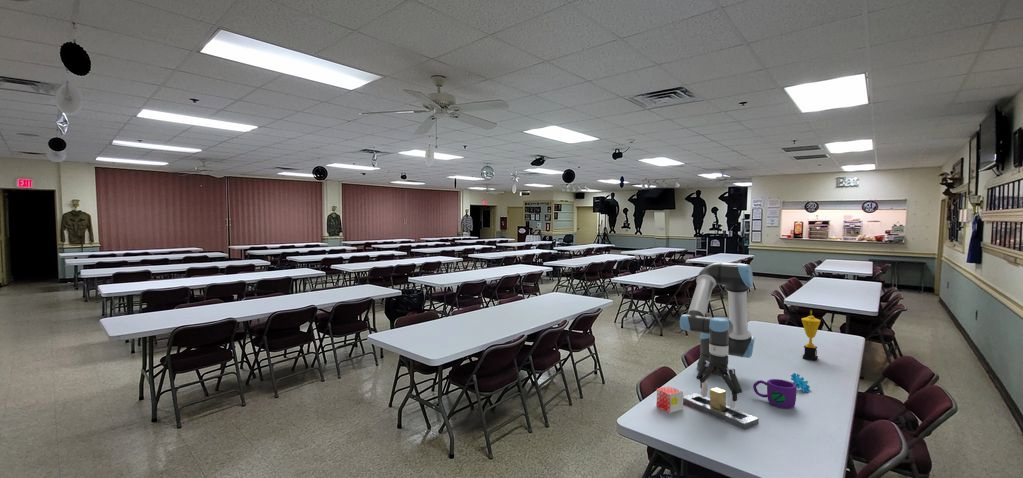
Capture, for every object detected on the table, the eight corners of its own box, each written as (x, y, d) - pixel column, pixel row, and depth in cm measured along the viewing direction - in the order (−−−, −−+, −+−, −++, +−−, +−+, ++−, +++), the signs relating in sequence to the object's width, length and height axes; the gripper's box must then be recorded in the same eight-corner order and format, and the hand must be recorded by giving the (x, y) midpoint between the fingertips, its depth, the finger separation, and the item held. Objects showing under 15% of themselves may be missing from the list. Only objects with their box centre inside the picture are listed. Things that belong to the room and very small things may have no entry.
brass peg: (709, 411, 185) (710, 389, 185) (716, 409, 187) (716, 387, 187) (719, 415, 181) (719, 392, 181) (725, 413, 183) (726, 390, 183)
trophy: (818, 364, 248) (819, 313, 247) (798, 360, 255) (799, 311, 254) (821, 356, 263) (822, 308, 262) (802, 353, 269) (803, 306, 268)
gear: (802, 391, 203) (789, 372, 210) (792, 397, 207) (779, 378, 213) (816, 391, 207) (803, 372, 214) (806, 396, 211) (794, 377, 218)
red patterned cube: (670, 412, 184) (670, 395, 184) (656, 406, 191) (656, 388, 191) (683, 409, 188) (683, 391, 188) (669, 402, 195) (669, 385, 195)
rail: (681, 402, 195) (681, 397, 195) (695, 398, 199) (695, 393, 199) (744, 429, 169) (744, 423, 168) (758, 424, 173) (758, 418, 173)
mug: (798, 404, 192) (799, 383, 192) (793, 412, 184) (793, 390, 184) (756, 394, 204) (756, 373, 204) (749, 400, 196) (749, 379, 196)
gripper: (688, 347, 192) (688, 393, 193) (740, 363, 170) (740, 415, 171) (699, 345, 196) (698, 390, 197) (751, 360, 174) (751, 411, 175)
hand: (718, 402), depth 184 cm, fingers open, 13 cm apart
